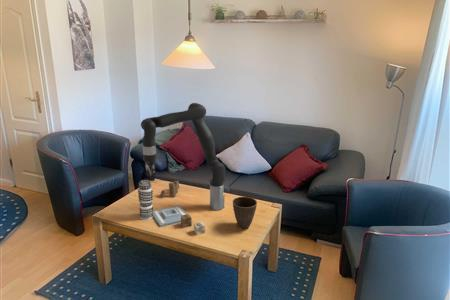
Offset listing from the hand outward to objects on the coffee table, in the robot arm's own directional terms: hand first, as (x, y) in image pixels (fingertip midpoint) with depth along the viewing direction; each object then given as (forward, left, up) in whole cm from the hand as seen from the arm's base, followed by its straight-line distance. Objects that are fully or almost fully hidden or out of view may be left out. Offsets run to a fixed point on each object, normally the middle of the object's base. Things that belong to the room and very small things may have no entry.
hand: (150, 178), depth 201 cm
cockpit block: (-21, +25, -29) cm, 44 cm away
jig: (-12, -1, -29) cm, 31 cm away
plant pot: (-49, +30, -29) cm, 64 cm away
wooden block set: (-24, -33, -29) cm, 50 cm away
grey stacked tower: (+2, -8, -30) cm, 31 cm away
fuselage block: (-17, +14, -29) cm, 36 cm away
